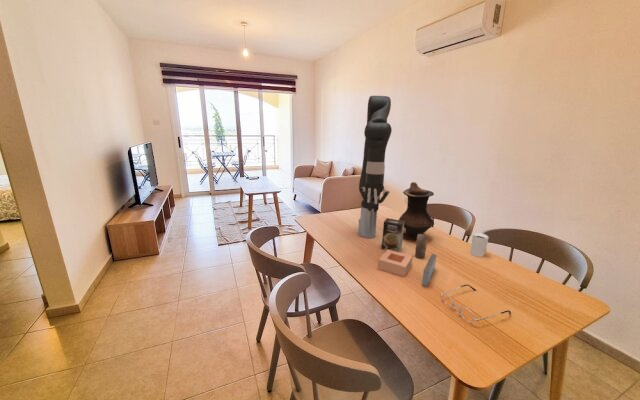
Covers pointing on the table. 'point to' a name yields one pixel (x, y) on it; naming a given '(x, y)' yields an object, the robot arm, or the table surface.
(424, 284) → the rail base
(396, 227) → the coffee box
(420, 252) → the dowel
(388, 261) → the holder
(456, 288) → the eyeglasses
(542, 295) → the table surface
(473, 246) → the drinking glass
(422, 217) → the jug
